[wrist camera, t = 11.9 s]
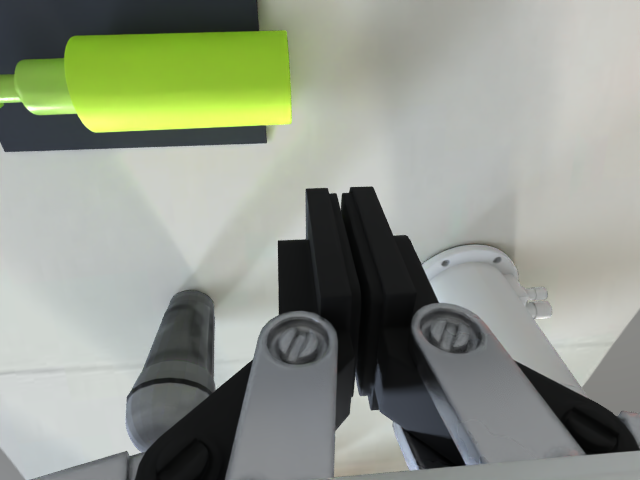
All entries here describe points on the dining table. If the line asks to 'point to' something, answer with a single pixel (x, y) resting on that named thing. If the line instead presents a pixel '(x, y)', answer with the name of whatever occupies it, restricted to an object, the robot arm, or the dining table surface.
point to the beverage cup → (174, 369)
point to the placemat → (108, 19)
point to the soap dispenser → (160, 81)
